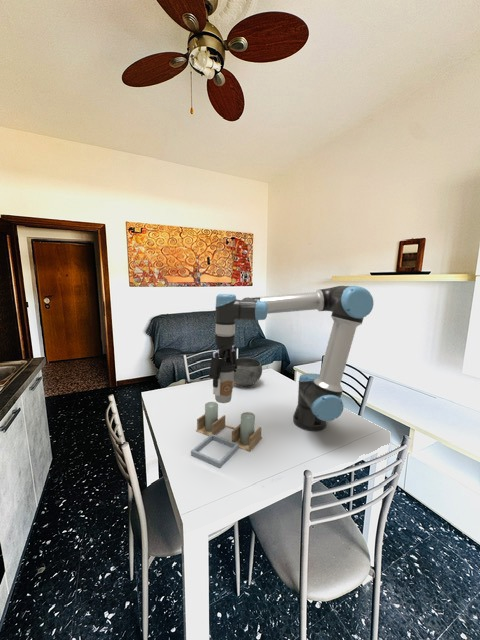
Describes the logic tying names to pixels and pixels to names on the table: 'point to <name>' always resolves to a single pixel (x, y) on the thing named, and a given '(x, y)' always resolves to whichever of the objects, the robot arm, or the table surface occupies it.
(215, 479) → the table surface
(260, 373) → the bowl
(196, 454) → the tray
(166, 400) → the table surface
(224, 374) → the coffee cup
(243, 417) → the jar
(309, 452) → the table surface
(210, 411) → the jar
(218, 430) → the caddy
